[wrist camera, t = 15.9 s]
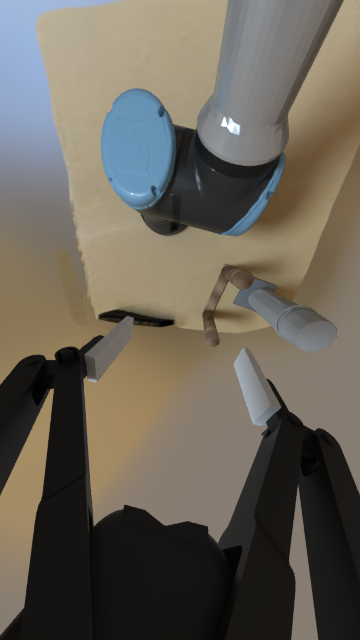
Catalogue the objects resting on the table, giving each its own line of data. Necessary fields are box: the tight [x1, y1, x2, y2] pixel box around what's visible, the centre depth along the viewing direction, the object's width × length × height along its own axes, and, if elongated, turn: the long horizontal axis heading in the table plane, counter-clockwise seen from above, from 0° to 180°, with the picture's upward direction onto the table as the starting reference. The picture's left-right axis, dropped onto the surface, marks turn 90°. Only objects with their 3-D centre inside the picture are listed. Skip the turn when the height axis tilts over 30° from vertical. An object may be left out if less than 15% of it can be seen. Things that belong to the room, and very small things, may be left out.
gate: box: [202, 265, 254, 347], centre depth 40 cm, size 20×4×19 cm, turn 162°
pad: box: [233, 278, 277, 311], centre depth 47 cm, size 10×10×1 cm
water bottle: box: [248, 288, 337, 352], centre depth 35 cm, size 9×8×25 cm
